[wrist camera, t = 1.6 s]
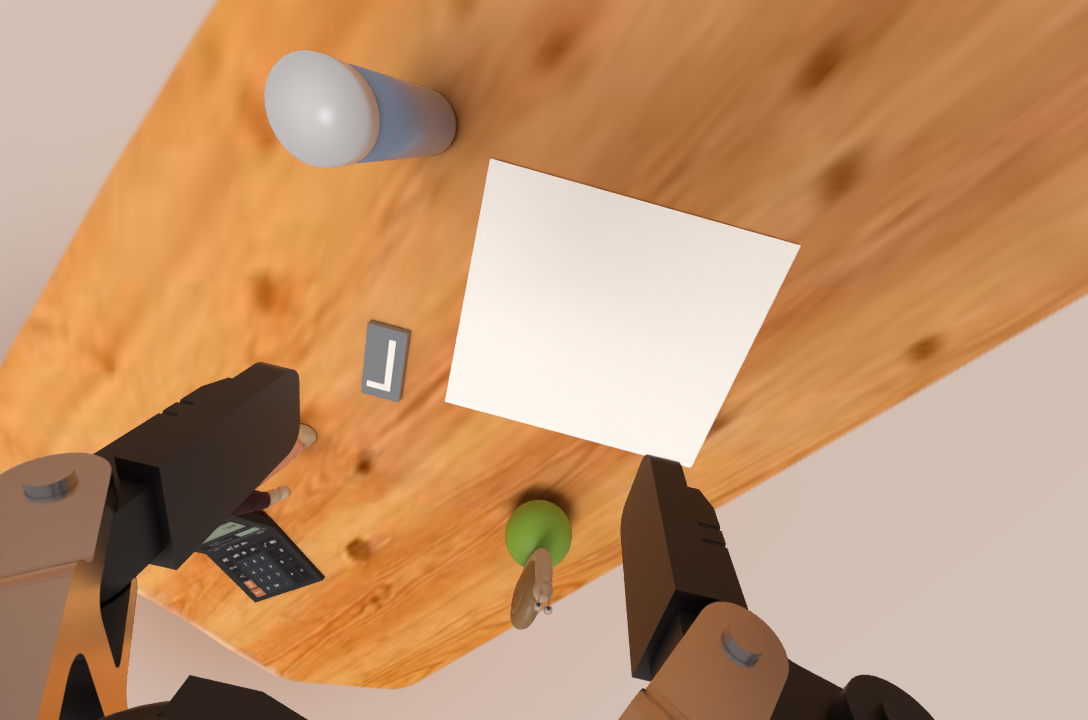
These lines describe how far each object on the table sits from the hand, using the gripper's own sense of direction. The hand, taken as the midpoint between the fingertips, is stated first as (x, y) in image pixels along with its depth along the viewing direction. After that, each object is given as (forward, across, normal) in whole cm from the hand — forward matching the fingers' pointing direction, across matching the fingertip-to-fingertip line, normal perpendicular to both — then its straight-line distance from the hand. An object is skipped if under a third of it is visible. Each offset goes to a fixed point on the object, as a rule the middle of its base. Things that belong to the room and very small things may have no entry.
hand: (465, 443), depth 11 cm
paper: (+22, -5, +5) cm, 24 cm away
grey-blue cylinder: (+22, +8, -6) cm, 25 cm away
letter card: (+23, +10, +11) cm, 27 cm away
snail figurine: (+23, -5, +22) cm, 32 cm away
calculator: (+24, +22, +36) cm, 48 cm away
